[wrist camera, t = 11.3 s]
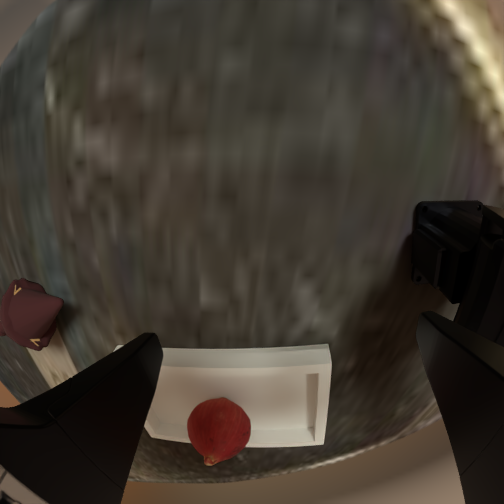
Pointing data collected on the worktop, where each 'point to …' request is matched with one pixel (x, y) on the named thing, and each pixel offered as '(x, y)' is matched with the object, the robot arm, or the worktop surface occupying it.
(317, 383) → the tray
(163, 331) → the worktop surface
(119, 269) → the worktop surface
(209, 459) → the onion
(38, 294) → the dark red toy figure
